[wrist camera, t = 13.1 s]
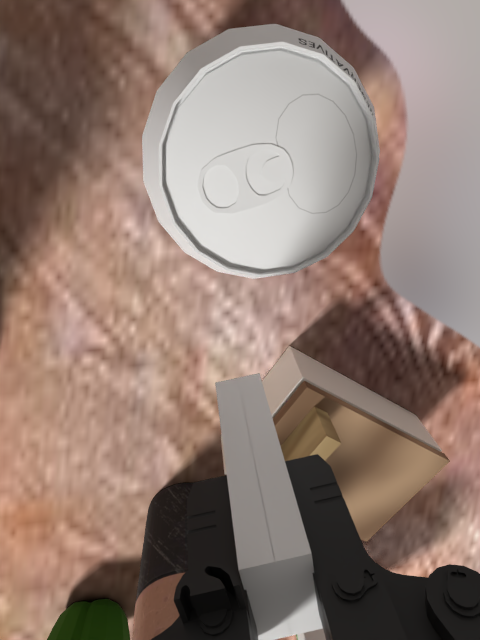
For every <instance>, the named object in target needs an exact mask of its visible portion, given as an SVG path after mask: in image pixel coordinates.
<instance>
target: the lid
mask: <svg viewBox="0 0 480 640" xmlns="http://www.w3.org/2000/svg"><path fill="white" fill-rule="evenodd" d="M273 422H274V425H275V429H276V432H277V436H278V439H279V443H280V446H281V450H282V453H283V456H284V460H285V461H288V460H293V459H298V458H302V457H307V456H311V455H316V454H318V455H319V456H320V457H321V458H322V459H324V460H325V461H326V462H327V463H328V464H329V465H330V466H331V468H332V471H333V473H334V476H335V478H336V481H337V484H338V485H339V488H340V490H341V493H342V495H343V498H344V500H345V502H346V505H347V507H348V510H349V512H350V515H351V517H352V520H353V522H354V524H355V527H356V529H357V532H358V534H359V537H360V539H361V540H363V541H366V542H367V541H368V540H369V539H370V538H371V537H372V536H373V535H374V534H375V533H376V532H377V531H378V530H379V529H380V528H381V527H382V526H383V525H385V524H386V523H387V522H388V521H389V520H390V519H391V518H392V517H393V516H394V515H395V514H396V513H397V512H398V511H399V510H400V509H401V508H402V507H403V506H404V505H405V504H406V503H407V502H408V501H409V500H410V499H411V498H412V497H413V496H414V495H416V494H417V493H418V492H419V491H420V490H421V489H422V488H423V487H424V486H425V485H426V484H427V483H428V482H429V481H430V480H431V479H432V478H433V477H434V476H435V475H436V474H437V473H438V472H439V471H440V470H441V469H442V468H443V467H444V466H446V465H447V464H448V463H449V462H450V461H449V459H448V458H447V457H446V455H445V454H444V453H442V452H440V451H438V450H436V449H434V448H432V447H430V446H428V445H427V444H425V443H423V442H421V441H419V440H417V439H415V438H413V437H411V436H409V435H407V434H406V433H404V432H402V431H400V430H398V429H396V428H394V427H392V426H390V425H388V424H386V423H384V422H383V421H381V420H379V419H377V418H375V417H373V416H371V415H369V414H367V413H365V412H363V411H361V410H360V409H358V408H356V407H354V406H352V405H350V404H348V403H346V402H344V401H342V400H340V399H339V398H337V397H335V396H333V395H331V394H329V393H327V392H325V391H323V390H321V389H319V388H317V387H316V386H314V385H312V384H310V383H308V382H306V381H303V382H302V384H301V385H300V386H299V387H298V388H297V390H296V391H295V392H294V393H293V395H292V396H291V397H290V398H289V400H288V401H287V402H286V403H285V405H284V406H283V407H282V408H281V409H280V411H279V412H278V413H277V414H276V416H275V417H274V418H273Z"/></svg>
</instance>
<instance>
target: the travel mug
mask: <svg viewBox="0 0 480 640" xmlns="http://www.w3.org/2000/svg"><path fill="white" fill-rule="evenodd" d="M193 484H194V483H180V484H176V485H172V486H170V487H167V488H165V489H164V490H162V491H161V492H159V493H158V494H157V495H156V496H155V497H154V498H153V500H152V501H151V503H150V506H149V509H148V515H147V522H146V529H145V536H144V544H143V551H142V559H141V566H140V574H139V581H138V589H137V596H136V605H135V613H134V624H133V635H132V640H151V639H152V638H154V637H155V636H157V635H159V634H160V633H162V632H163V631H165V630H166V629H167V628H168V627H170V626H171V625H172V624H173V623H174V622H175V620H176V619H177V618H178V617H179V612H178V610H177V608H176V605H175V603H174V594H175V589H176V586H177V584H178V583H179V581H180V579H181V577H182V576H183V574H185V573H186V572H187V571H188V531H187V520H188V518H187V498H188V496H189V493H190V491H191V489H192V486H193Z"/></svg>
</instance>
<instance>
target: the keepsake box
mask: <svg viewBox="0 0 480 640" xmlns="http://www.w3.org/2000/svg"><path fill="white" fill-rule="evenodd" d="M303 381H306V382H308V383H310V384H312V385H314V386H316V387H317V388H319V389H321V390H323V391H325V392H327V393H329V394H331V395H333V396H335V397H337V398H339V399H340V400H342V401H344V402H346V403H348V404H350V405H352V406H354V407H356V408H358V409H360V410H361V411H363V412H365V413H367V414H369V415H371V416H373V417H375V418H377V419H379V420H381V421H383V422H384V423H386V424H388V425H390V426H392V427H394V428H396V429H398V430H400V431H402V432H404V433H406V434H407V435H409V436H411V437H413V438H415V439H417V440H419V441H421V442H423V443H425V444H427V445H428V446H430V447H432V448H434V449H436V450H438V451H440V452H441V451H442V450H441V448H440V447H439V446H438V444H437V443H436V442H435V440H434V439H433V438H432V436H431V435H430V433H429V432H428V431H427V429H426V428H425V427H424V425H423V424H422V423H421V421H420V420H419V418H418V417H417V416H416V415H415V414H413V413H411V412H410V411H408V410H406V409H404V408H402V407H400V406H399V405H397V404H395V403H393V402H391V401H389V400H388V399H386V398H384V397H382V396H380V395H378V394H377V393H375V392H373V391H371V390H369V389H368V388H366V387H364V386H362V385H360V384H358V383H357V382H355V381H353V380H351V379H349V378H347V377H346V376H344V375H342V374H340V373H338V372H336V371H335V370H333V369H331V368H329V367H327V366H326V365H324V364H322V363H320V362H318V361H316V360H315V359H313V358H311V357H309V356H307V355H305V354H304V353H302V352H300V351H298V350H296V349H294V348H293V347H291V346H289V347H288V348H287V349H286V351H285V352H284V353H283V355H282V356H281V357H280V358H279V360H278V361H277V362H276V364H275V365H274V366H273V368H272V369H271V370H270V371H269V373H268V374H267V375H266V377H265V378H264V379H263V381H262V384H263V387H264V391H265V394H266V398H267V401H268V405H269V408H270V412H271V415H272V418H274V417H275V416H276V414H277V413H278V412H279V411H280V409H281V408H282V407H283V406H284V405H285V403H286V402H287V401H288V400H289V398H290V397H291V396H292V395H293V393H294V392H295V391H296V390H297V388H298V387H299V386H300V385H301V384H302V382H303ZM221 444H222V454H223V463H224V473H225V474H226V475H227V473H226V465H225V457H224V449H223V441H222V434H221Z"/></svg>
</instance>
